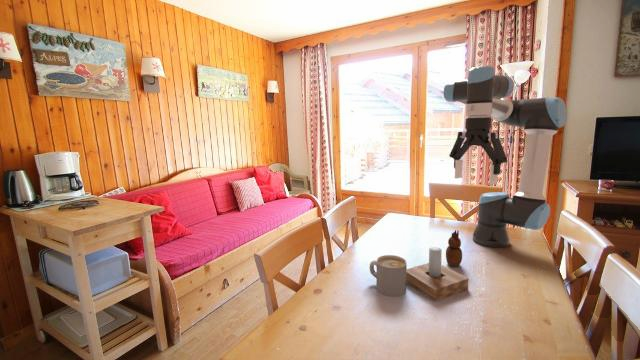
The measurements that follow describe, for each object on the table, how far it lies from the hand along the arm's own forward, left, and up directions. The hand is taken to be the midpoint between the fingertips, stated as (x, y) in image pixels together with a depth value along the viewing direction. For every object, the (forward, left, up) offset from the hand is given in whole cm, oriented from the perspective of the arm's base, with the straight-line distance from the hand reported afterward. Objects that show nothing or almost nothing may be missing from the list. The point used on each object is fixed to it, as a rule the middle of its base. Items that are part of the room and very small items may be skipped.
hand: (474, 181), depth 106 cm
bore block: (+13, -3, -36) cm, 38 cm away
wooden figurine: (-5, -11, -36) cm, 38 cm away
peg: (+14, -3, -35) cm, 37 cm away
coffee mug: (+28, -10, -36) cm, 47 cm away
